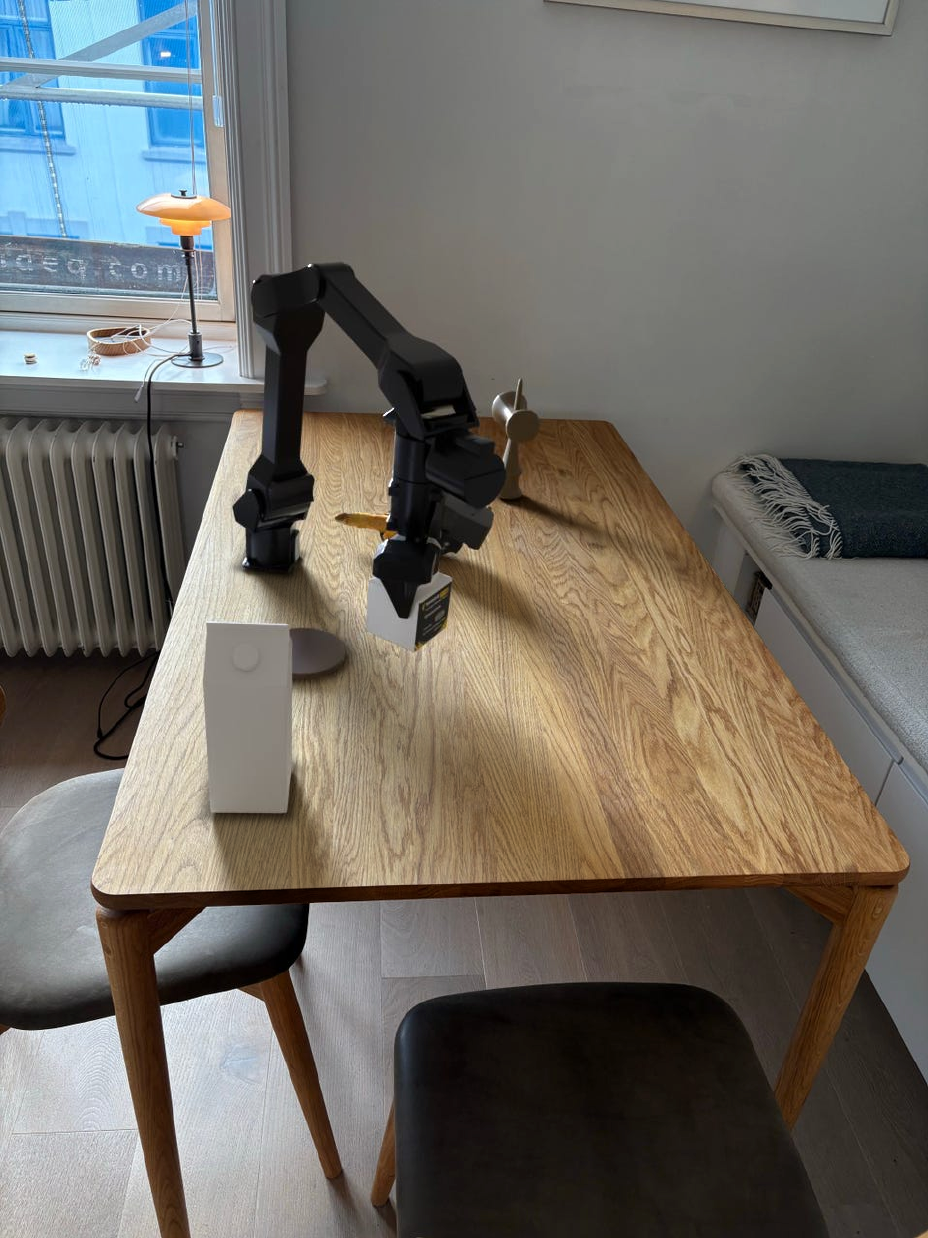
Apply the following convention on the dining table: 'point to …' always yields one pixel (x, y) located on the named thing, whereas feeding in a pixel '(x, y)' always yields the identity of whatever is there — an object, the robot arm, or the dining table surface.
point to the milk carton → (248, 716)
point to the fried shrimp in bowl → (380, 525)
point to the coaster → (315, 653)
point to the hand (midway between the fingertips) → (409, 598)
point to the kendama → (514, 434)
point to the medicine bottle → (424, 614)
